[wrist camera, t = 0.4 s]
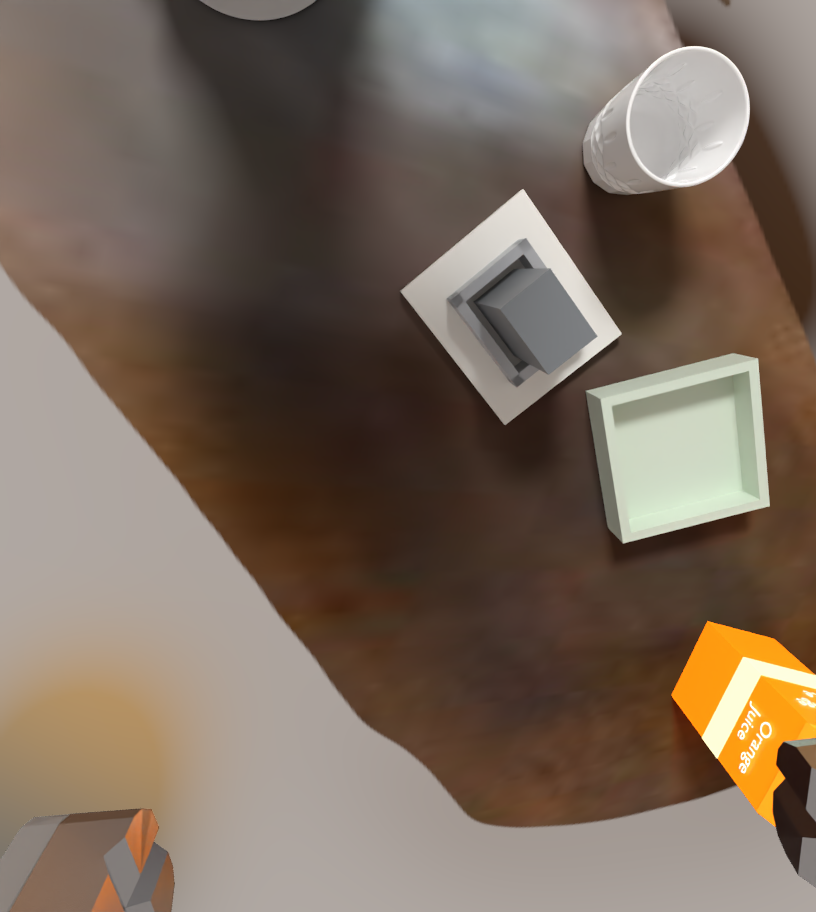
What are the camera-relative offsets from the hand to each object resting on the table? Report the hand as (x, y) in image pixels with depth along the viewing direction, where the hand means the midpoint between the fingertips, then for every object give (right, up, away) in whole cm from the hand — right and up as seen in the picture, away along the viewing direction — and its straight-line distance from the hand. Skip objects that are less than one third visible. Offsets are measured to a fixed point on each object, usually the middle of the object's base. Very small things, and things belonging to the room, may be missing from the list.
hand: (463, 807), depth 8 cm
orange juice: (+30, -16, +55) cm, 65 cm away
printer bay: (+8, +16, +43) cm, 47 cm away
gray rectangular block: (+8, +16, +43) cm, 46 cm away
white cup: (+16, +28, +41) cm, 52 cm away
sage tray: (+22, +6, +48) cm, 53 cm away
